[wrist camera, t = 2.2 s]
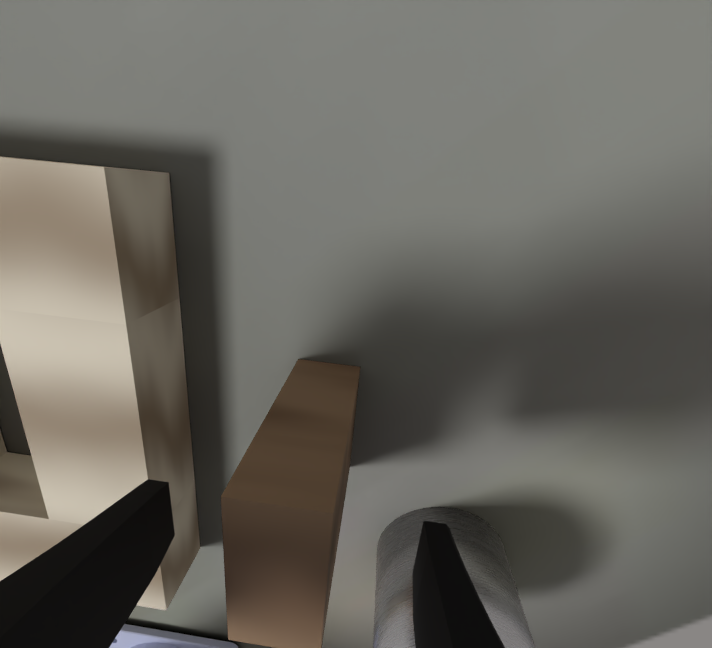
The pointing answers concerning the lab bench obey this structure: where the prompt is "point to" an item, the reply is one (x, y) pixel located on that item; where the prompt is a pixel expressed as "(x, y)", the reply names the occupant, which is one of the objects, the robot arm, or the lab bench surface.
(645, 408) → the lab bench surface
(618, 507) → the lab bench surface
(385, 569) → the cylinder
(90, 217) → the slot plate
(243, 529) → the walnut bar
